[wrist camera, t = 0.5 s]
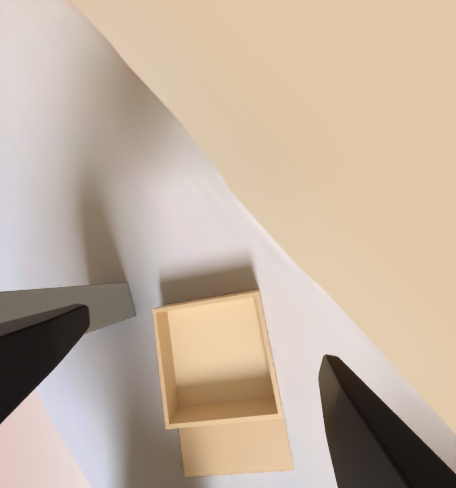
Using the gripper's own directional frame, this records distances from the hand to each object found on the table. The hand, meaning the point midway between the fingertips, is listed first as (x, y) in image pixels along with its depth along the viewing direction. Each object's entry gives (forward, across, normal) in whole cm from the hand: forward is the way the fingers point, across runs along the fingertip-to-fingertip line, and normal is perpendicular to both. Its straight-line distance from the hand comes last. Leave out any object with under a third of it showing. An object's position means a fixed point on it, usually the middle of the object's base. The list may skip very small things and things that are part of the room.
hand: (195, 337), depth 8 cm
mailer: (+11, 0, +14) cm, 18 cm away
